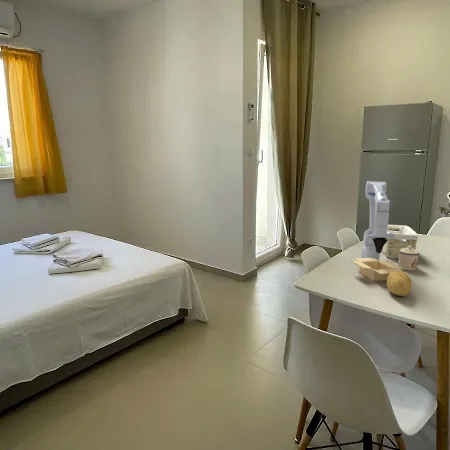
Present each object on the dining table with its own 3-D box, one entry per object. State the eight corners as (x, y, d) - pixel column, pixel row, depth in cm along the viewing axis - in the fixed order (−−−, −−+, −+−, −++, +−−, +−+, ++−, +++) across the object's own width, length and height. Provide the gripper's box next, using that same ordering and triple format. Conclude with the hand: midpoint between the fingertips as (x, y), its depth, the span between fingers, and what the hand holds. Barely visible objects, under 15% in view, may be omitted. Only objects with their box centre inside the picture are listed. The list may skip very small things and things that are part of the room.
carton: (354, 268, 185) (355, 253, 183) (380, 267, 187) (382, 252, 186) (379, 285, 164) (380, 268, 162) (409, 283, 166) (411, 266, 164)
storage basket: (416, 260, 199) (419, 234, 196) (384, 258, 203) (387, 232, 199) (405, 248, 222) (408, 225, 219) (377, 247, 225) (379, 223, 222)
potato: (413, 291, 157) (415, 270, 155) (407, 302, 146) (409, 280, 144) (388, 285, 163) (390, 265, 161) (380, 296, 151) (382, 274, 149)
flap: (360, 261, 178) (360, 262, 178) (351, 260, 177) (351, 261, 177) (372, 268, 168) (372, 269, 168) (363, 267, 167) (362, 268, 167)
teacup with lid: (414, 272, 180) (417, 249, 178) (395, 268, 186) (397, 246, 184) (420, 266, 190) (423, 244, 187) (401, 262, 195) (404, 241, 193)
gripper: (372, 227, 169) (369, 255, 172) (400, 226, 172) (397, 254, 174) (363, 224, 176) (361, 251, 179) (391, 223, 178) (388, 250, 181)
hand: (378, 252), depth 177 cm, fingers closed
